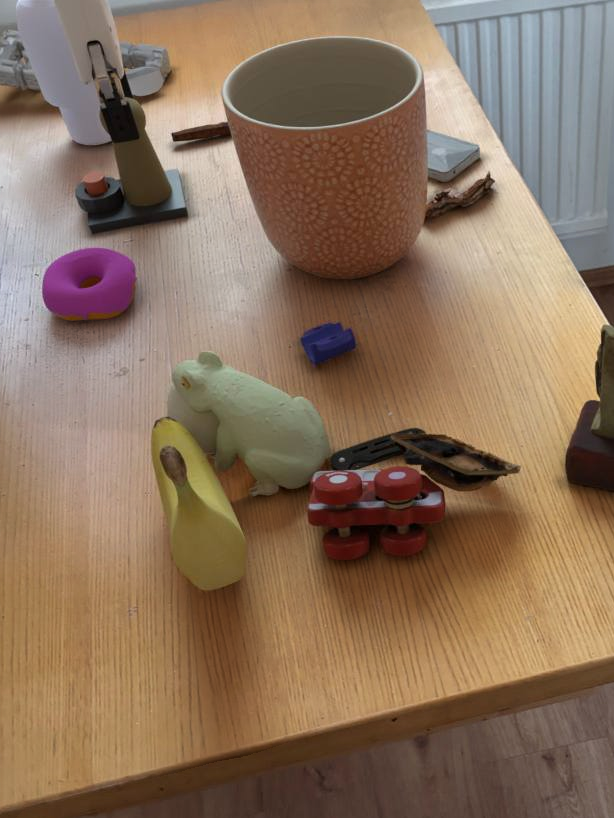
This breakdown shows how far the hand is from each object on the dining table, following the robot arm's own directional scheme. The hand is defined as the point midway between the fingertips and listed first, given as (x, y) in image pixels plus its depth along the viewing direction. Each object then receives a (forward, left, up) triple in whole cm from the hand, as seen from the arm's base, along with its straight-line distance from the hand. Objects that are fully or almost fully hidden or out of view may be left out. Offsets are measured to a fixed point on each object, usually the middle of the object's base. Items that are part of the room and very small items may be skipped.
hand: (123, 121), depth 110 cm
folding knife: (+51, -25, -9) cm, 57 cm away
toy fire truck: (+59, -37, -5) cm, 70 cm away
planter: (+30, +2, -10) cm, 31 cm away
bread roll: (+64, -23, -9) cm, 68 cm away
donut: (+9, -19, -10) cm, 24 cm away
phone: (+25, +25, -8) cm, 36 cm away
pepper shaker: (0, 0, -9) cm, 9 cm away
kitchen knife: (-1, +22, -10) cm, 24 cm away
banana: (+45, -43, -10) cm, 63 cm away
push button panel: (-1, -1, -10) cm, 10 cm away
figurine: (+40, -31, -10) cm, 52 cm away
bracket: (+38, -15, -7) cm, 42 cm away
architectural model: (-30, +21, -6) cm, 37 cm away
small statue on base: (+73, -16, -10) cm, 76 cm away
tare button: (-4, -4, -7) cm, 9 cm away
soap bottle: (-19, +10, -10) cm, 24 cm away
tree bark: (+34, +17, -11) cm, 39 cm away
